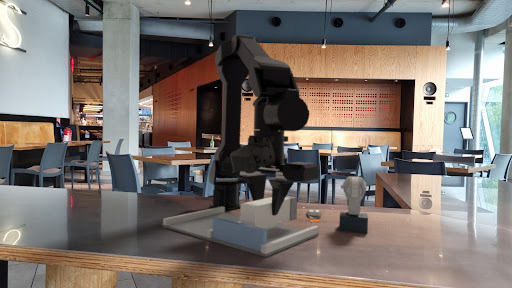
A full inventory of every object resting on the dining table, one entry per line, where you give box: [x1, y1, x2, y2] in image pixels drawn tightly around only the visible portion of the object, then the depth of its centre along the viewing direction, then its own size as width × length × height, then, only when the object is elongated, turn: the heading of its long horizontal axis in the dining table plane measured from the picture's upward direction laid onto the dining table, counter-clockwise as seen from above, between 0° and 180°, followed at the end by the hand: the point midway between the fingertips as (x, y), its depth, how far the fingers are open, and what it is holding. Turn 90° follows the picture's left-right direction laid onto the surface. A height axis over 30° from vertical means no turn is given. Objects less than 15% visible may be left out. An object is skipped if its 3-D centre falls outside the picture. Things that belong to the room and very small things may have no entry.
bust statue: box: [338, 175, 369, 234], centre depth 78 cm, size 6×8×11 cm
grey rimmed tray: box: [162, 206, 320, 258], centre depth 74 cm, size 17×26×4 cm, turn 51°
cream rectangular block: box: [239, 195, 298, 229], centre depth 71 cm, size 13×4×4 cm, turn 141°
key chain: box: [306, 209, 322, 223], centre depth 86 cm, size 13×4×2 cm, turn 172°
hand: (266, 213), depth 71 cm, fingers closed on cream rectangular block, 3 cm apart
